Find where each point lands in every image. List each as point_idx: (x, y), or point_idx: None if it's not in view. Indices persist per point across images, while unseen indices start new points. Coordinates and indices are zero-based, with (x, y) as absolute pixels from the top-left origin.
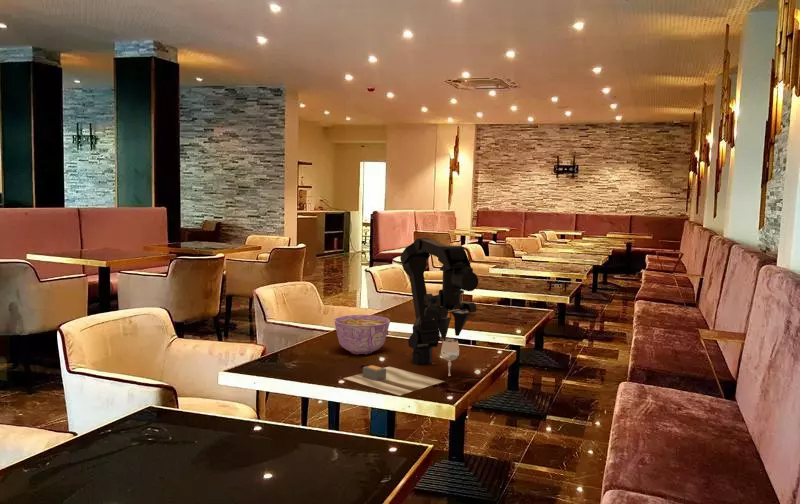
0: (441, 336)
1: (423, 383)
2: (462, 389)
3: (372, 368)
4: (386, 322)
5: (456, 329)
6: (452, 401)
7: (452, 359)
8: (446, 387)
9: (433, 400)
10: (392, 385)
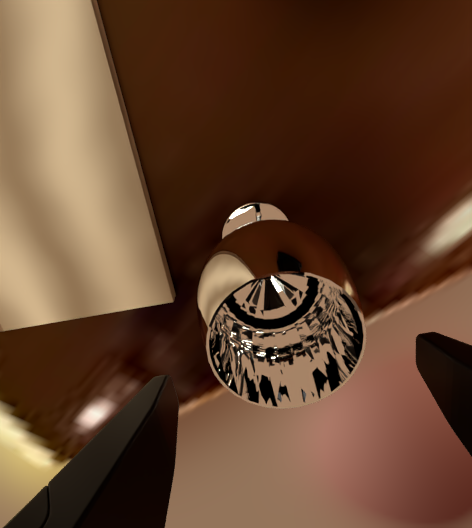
0: (141, 394)
1: (61, 278)
2: (196, 375)
3: None
4: None
5: (468, 398)
6: (77, 445)
7: (250, 316)
8: (156, 327)
9: (19, 411)
10: None
